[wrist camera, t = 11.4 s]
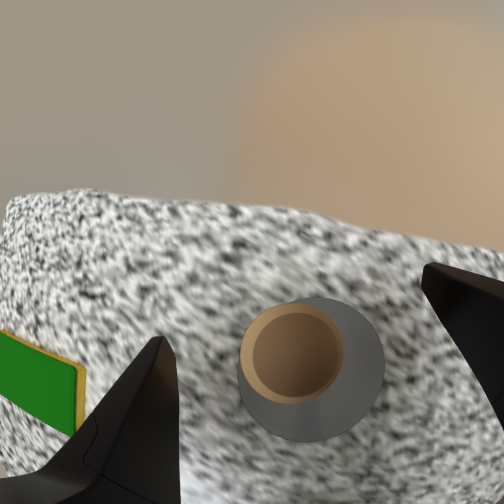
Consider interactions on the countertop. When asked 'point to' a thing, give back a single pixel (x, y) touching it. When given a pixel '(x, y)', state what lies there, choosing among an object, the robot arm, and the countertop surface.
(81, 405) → the dish sponge
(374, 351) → the slate coaster
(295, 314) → the brown cylinder
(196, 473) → the countertop surface
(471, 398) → the countertop surface
